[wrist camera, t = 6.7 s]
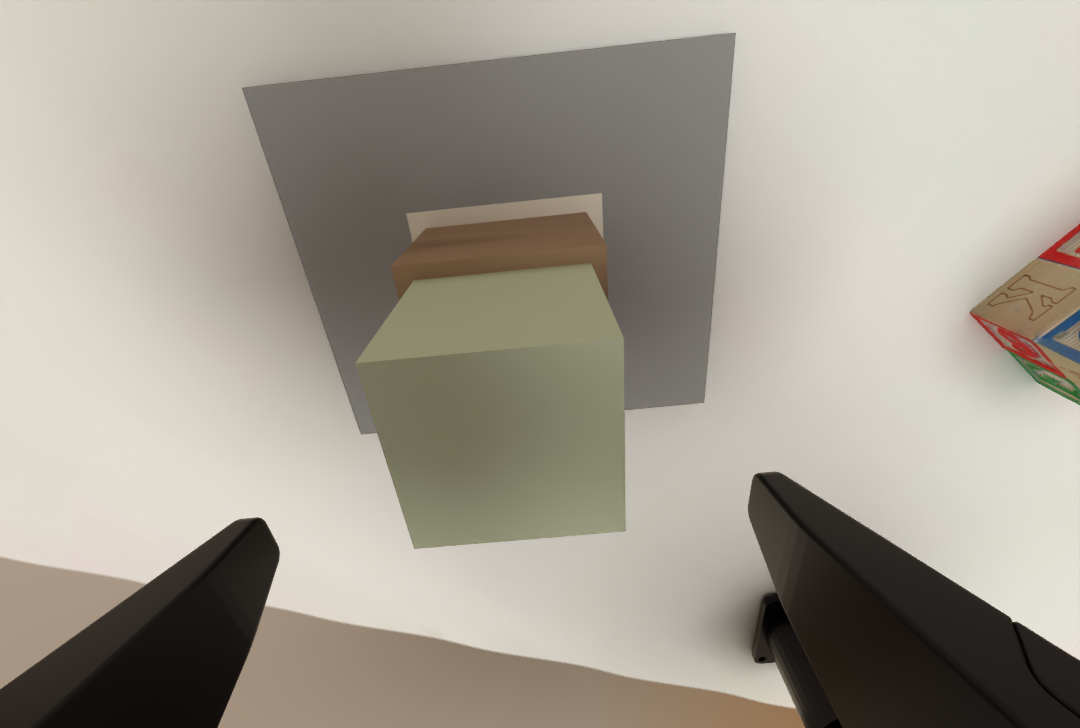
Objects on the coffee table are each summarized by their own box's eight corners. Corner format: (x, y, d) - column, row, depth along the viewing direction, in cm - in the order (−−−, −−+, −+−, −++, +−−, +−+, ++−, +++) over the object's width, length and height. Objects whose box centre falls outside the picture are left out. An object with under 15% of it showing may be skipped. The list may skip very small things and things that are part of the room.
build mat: (701, 398, 22) (704, 403, 21) (363, 429, 22) (360, 435, 22) (730, 34, 15) (736, 32, 15) (248, 88, 15) (240, 87, 15)
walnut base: (592, 355, 20) (611, 423, 15) (454, 368, 20) (434, 439, 16) (586, 211, 17) (606, 244, 13) (425, 228, 17) (390, 266, 13)
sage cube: (597, 411, 15) (625, 531, 11) (447, 425, 15) (414, 548, 11) (590, 262, 13) (623, 337, 8) (413, 280, 13) (354, 362, 9)
